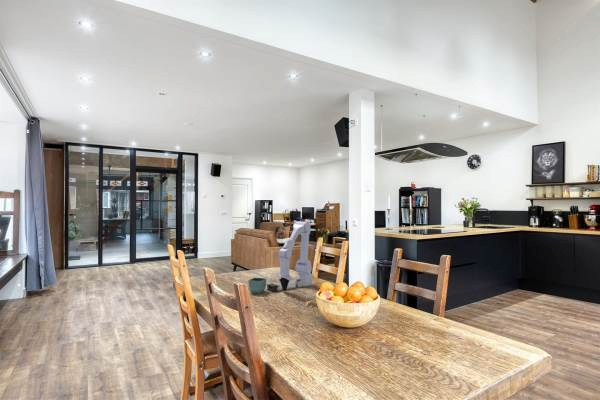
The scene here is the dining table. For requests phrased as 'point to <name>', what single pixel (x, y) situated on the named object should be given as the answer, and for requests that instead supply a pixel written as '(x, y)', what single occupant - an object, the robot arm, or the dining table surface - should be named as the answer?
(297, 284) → the tongs fixed
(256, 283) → the flower pot
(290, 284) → the bar
